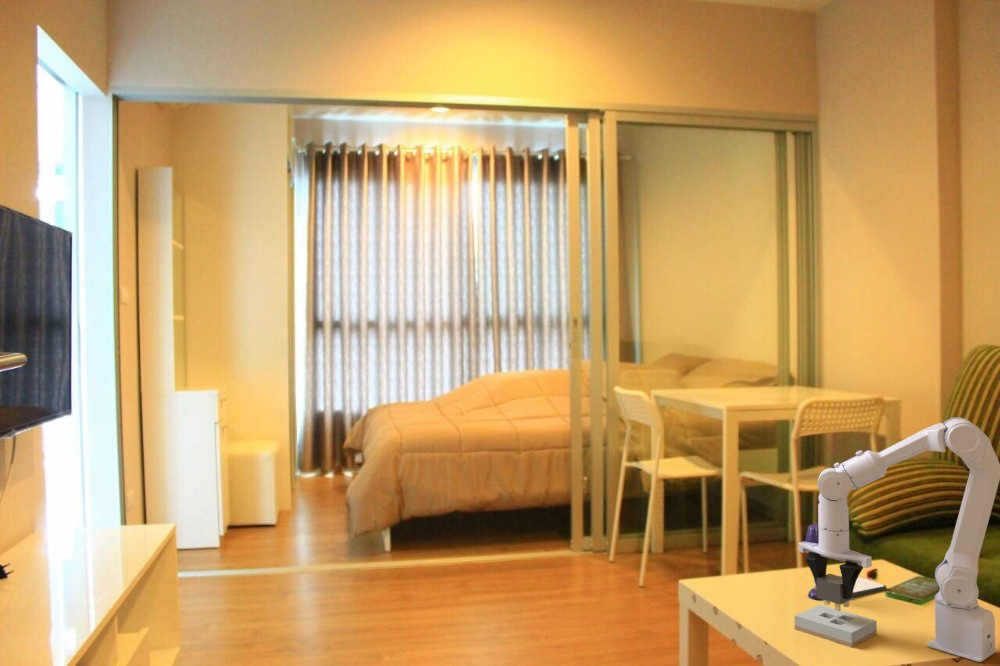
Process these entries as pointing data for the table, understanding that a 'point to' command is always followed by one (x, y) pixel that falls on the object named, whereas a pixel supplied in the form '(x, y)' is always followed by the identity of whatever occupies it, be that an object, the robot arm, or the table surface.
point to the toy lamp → (814, 538)
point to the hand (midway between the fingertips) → (834, 594)
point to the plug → (832, 591)
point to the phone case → (866, 587)
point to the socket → (836, 625)
